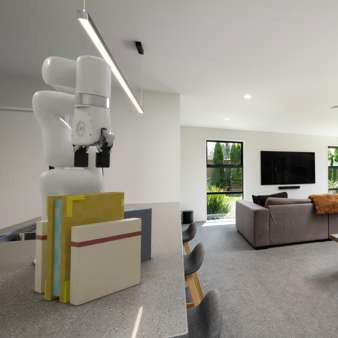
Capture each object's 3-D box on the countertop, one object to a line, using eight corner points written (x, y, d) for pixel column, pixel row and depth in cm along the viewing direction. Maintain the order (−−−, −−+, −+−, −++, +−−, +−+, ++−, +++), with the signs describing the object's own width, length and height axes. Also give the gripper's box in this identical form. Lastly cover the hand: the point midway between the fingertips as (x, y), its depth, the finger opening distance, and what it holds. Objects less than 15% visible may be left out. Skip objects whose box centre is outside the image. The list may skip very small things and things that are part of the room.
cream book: (34, 291, 74) (35, 221, 74) (99, 272, 88) (100, 213, 88) (40, 293, 73) (42, 222, 73) (105, 274, 87) (106, 214, 87)
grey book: (103, 269, 91) (104, 212, 91) (145, 257, 104) (146, 207, 104) (108, 270, 90) (110, 213, 90) (151, 258, 103) (151, 208, 103)
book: (65, 302, 68) (67, 196, 68) (44, 299, 69) (46, 195, 70) (128, 277, 84) (130, 192, 85) (110, 275, 86) (112, 191, 86)
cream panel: (69, 303, 68) (70, 226, 68) (133, 281, 81) (134, 217, 82) (76, 305, 66) (78, 227, 67) (140, 283, 80) (141, 218, 80)
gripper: (58, 103, 78) (57, 166, 78) (97, 98, 71) (95, 167, 71) (90, 109, 85) (88, 167, 85) (127, 105, 78) (126, 168, 78)
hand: (91, 167), depth 78 cm, fingers open, 9 cm apart
